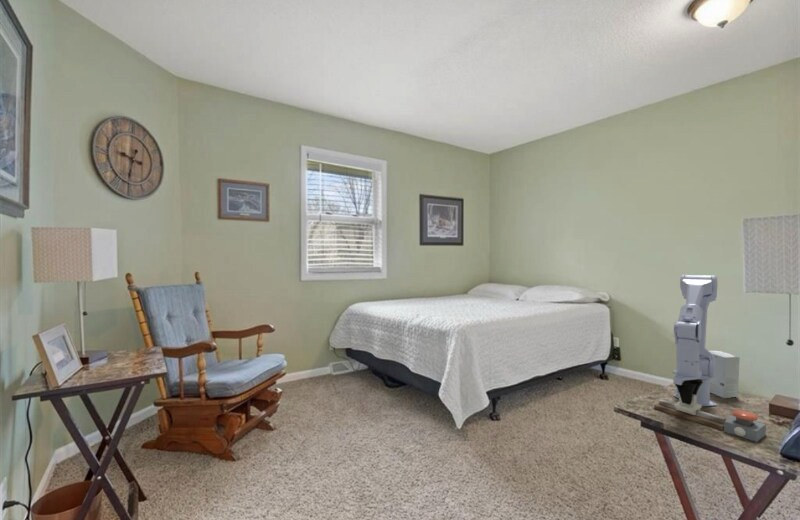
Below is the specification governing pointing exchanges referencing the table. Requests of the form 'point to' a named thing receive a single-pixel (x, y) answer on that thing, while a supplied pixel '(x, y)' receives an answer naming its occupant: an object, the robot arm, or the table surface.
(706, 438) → the table surface
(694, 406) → the carriage
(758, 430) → the grey square base
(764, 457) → the table surface
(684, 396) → the robot arm
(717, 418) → the rail board
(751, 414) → the button
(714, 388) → the skincare box
